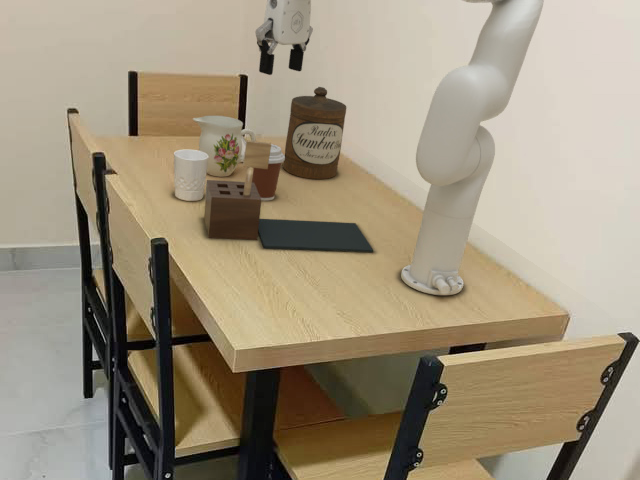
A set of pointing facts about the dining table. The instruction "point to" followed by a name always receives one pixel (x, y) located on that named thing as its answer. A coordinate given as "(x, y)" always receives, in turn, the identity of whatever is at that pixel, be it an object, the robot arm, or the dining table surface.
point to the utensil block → (231, 210)
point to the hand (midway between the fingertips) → (280, 71)
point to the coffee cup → (269, 174)
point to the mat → (312, 235)
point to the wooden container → (314, 136)
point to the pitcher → (222, 143)
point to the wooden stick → (255, 160)
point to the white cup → (190, 174)
